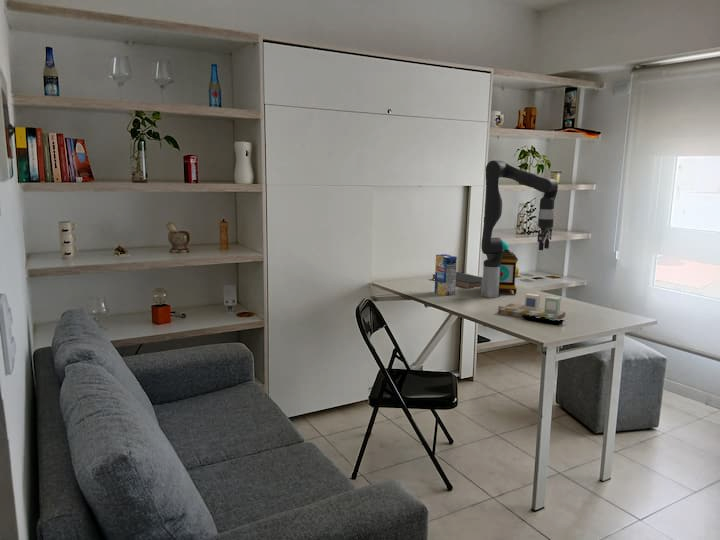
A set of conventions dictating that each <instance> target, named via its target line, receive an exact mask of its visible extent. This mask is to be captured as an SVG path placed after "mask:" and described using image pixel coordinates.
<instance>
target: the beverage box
mask: <svg viewBox="0 0 720 540" xmlns="http://www.w3.org/2000/svg"><path fill="white" fill-rule="evenodd" d="M457 262H458V257H457V256H454V255H450V254H447V253H445V254H443V253H442V254H436V255H435V269H434V270H435V271H434V272H435V273H434V274H435V280H434V293H436V294H439V295H442V296H443V297H451V296H456V286H457V285H456V272H457V264H458V263H457Z"/></svg>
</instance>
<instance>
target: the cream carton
mask: <svg viewBox="0 0 720 540" xmlns="http://www.w3.org/2000/svg"><path fill="white" fill-rule="evenodd" d="M540 301H541V294H534V293H529V292H528V293H526V294H525V296H524V306H525V307H524V310H529V311H535V312H538V311H539V308H540V303H541V302H540Z"/></svg>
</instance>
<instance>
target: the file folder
mask: <svg viewBox="0 0 720 540" xmlns="http://www.w3.org/2000/svg"><path fill="white" fill-rule="evenodd" d="M433 279H435V273H434V274H432V280H433ZM481 279H483V276H482V277H481V276H477V275H473V274H469V273H463V272H460V271H459V272H458V271H456V286H458V287H463V288H465V287H466V288H465V289H473V288H474V287H476V288H481ZM474 289H475V288H474Z"/></svg>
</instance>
